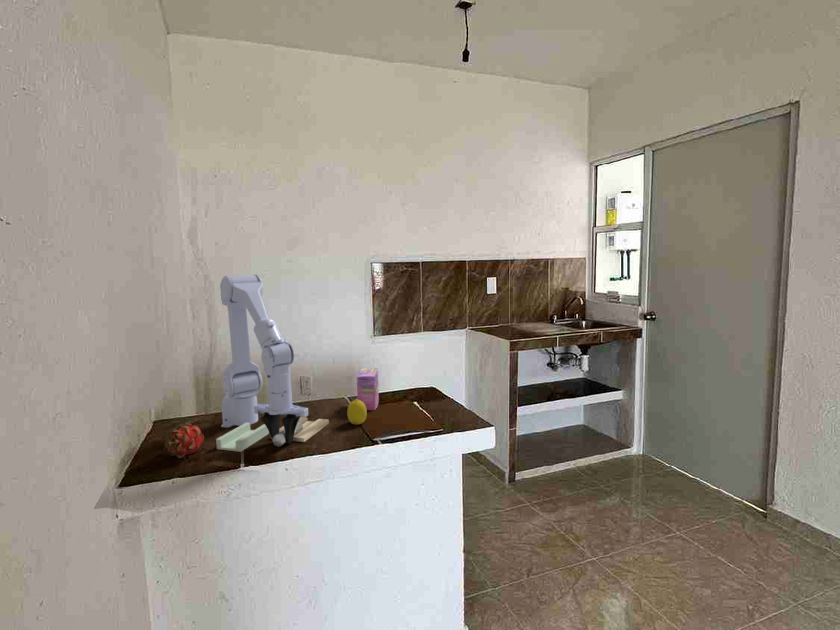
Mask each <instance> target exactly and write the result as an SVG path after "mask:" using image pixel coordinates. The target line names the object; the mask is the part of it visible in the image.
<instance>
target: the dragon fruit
mask: <svg viewBox="0 0 840 630" xmlns="http://www.w3.org/2000/svg"><path fill="white" fill-rule="evenodd" d="M164 438H165V442H164V445H163V446H164V447H163V451H164V452H166V453H167V455H168V456H175V457H176V458H178V459H181V458H183V457H184V459H186V458H187V455H191V454H195V453H199V452H200V446H201V445H202V443H203V442H204V441H205V436H204V433H202V431H201V429H200V428H199V426H197V425H196V424H195V425H192V423H189V422H188V423H187V422H186V423H185V424H184V425H182V426H181V425H179V426H177V427H175V428H173V431H171V432H168V433H165V434H164Z"/></svg>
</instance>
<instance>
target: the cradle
mask: <svg viewBox="0 0 840 630" xmlns="http://www.w3.org/2000/svg"><path fill="white" fill-rule="evenodd" d="M267 435H270V433H269V431H268V429H267V427H266V425H265V424H264V423H263V424H262V425H260V426H259V427H257V428H255V429H251V424H250V423H244V424H243V425H241V426H238V427H236V428H234V429H232V430H230V431H228V432H226V433H225V434H223V435H221V436H219V437H217V438H215V442H216V443H215V445H216V450H224V451H233V452H240V453H241V452H243V451H244V450H246V449H248V448H249V447H250V446H252V445H254V444H255V443H257V442H259V440H261V439H263V438H264V437H266V436H267Z"/></svg>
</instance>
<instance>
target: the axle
mask: <svg viewBox="0 0 840 630" xmlns="http://www.w3.org/2000/svg"><path fill="white" fill-rule="evenodd" d="M302 429H303V425H302V424H301V423H300V422H298V423H297V426H296V429H295V432H294V436H295V435H297V434H298V433H299V432H301V431H302ZM272 444H273V445H274V446H276V447H278V448H279V447H281V446H283V445H284V444H287V443H286V437H285V429H284V430H283V431H281V432H280V433H278V434H277V435H275V436H274V437H273V441H272Z"/></svg>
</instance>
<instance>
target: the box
mask: <svg viewBox="0 0 840 630" xmlns="http://www.w3.org/2000/svg"><path fill="white" fill-rule="evenodd" d="M356 391H357V393H356V396H357V398H356V399H358V400H360V401H362V402H363V403H364V404H365V406H366V410H367V411H375V410H377V409H378V406H379V400H380V399H379V398H380V397H379V395H380V393H379V368H377V367H362V368H360V369H359V372H358V374H357V376H356ZM376 408H377V409H376Z"/></svg>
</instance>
